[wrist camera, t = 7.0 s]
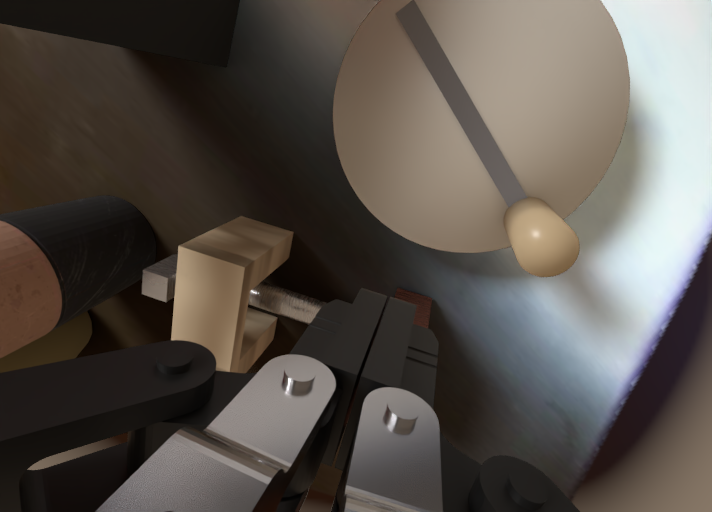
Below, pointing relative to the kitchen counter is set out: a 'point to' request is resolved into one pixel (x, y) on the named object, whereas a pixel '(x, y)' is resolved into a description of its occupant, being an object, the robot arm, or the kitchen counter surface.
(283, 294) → the hook rod
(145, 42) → the cleaning product box
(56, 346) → the squeeze bottle
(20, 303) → the travel mug
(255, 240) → the block
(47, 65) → the kitchen counter surface
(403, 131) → the handwheel
